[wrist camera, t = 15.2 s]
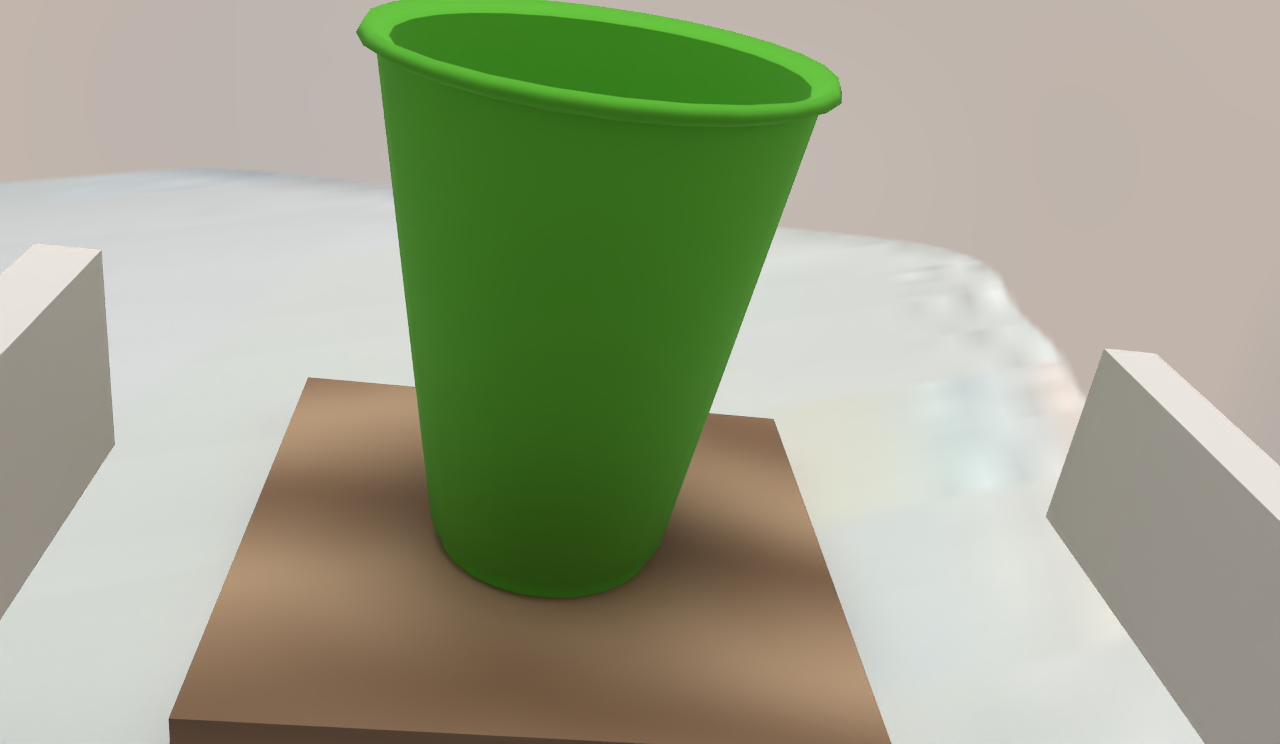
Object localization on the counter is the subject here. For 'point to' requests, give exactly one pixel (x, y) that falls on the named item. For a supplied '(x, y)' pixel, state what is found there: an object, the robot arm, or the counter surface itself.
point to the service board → (517, 611)
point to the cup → (576, 261)
